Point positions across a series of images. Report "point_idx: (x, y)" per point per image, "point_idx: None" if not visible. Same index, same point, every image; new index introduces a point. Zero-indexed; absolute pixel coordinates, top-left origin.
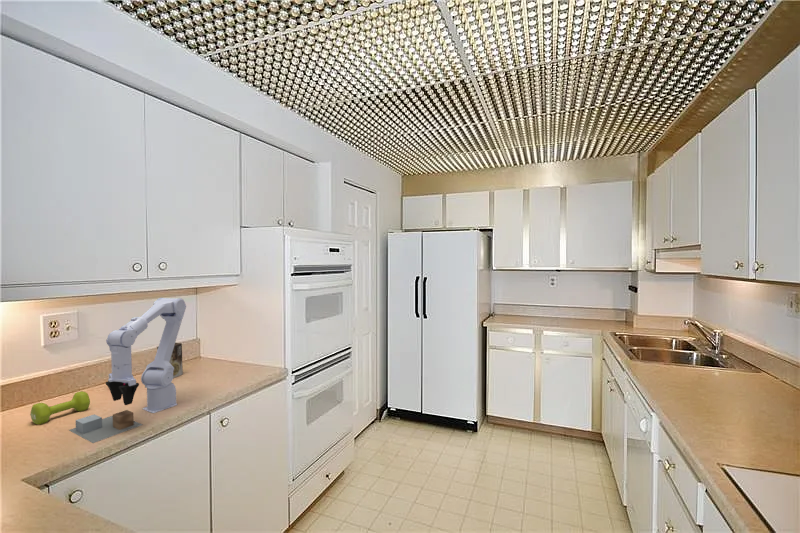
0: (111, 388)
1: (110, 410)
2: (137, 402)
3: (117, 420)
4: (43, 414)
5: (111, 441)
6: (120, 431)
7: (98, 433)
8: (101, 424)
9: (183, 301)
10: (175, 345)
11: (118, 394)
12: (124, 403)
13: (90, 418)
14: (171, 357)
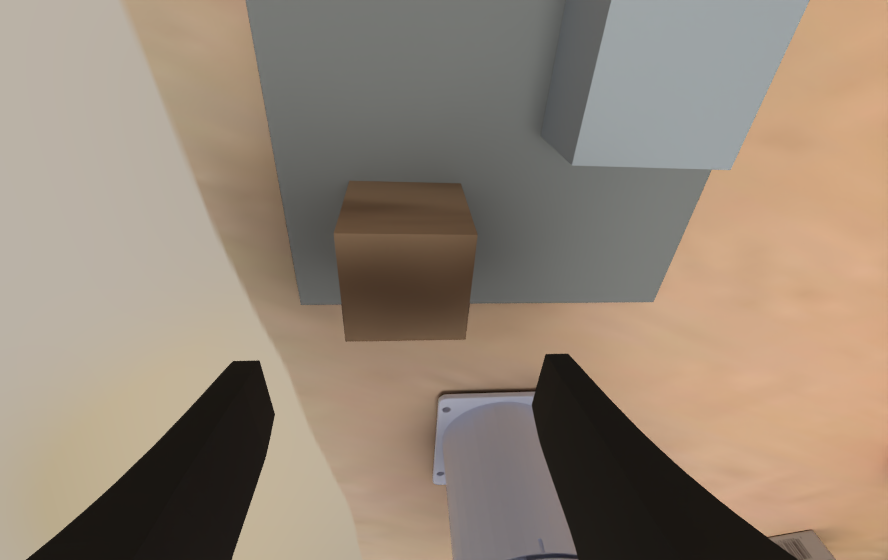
0: (662, 547)
1: (764, 306)
2: (688, 413)
3: (373, 214)
4: None
5: (162, 28)
6: (308, 170)
7: (439, 48)
8: (549, 138)
9: None
10: None
11: (560, 453)
12: (231, 377)
13: (674, 89)
14: None
